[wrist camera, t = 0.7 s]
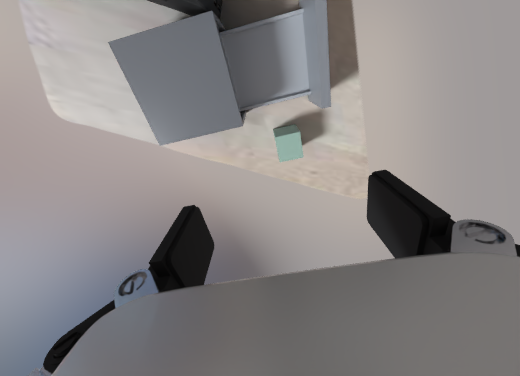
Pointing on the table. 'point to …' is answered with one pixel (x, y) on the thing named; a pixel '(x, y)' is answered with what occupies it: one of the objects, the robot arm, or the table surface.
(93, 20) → the table surface
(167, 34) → the grey box
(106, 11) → the table surface
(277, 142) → the block
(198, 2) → the game console
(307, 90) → the drawer
